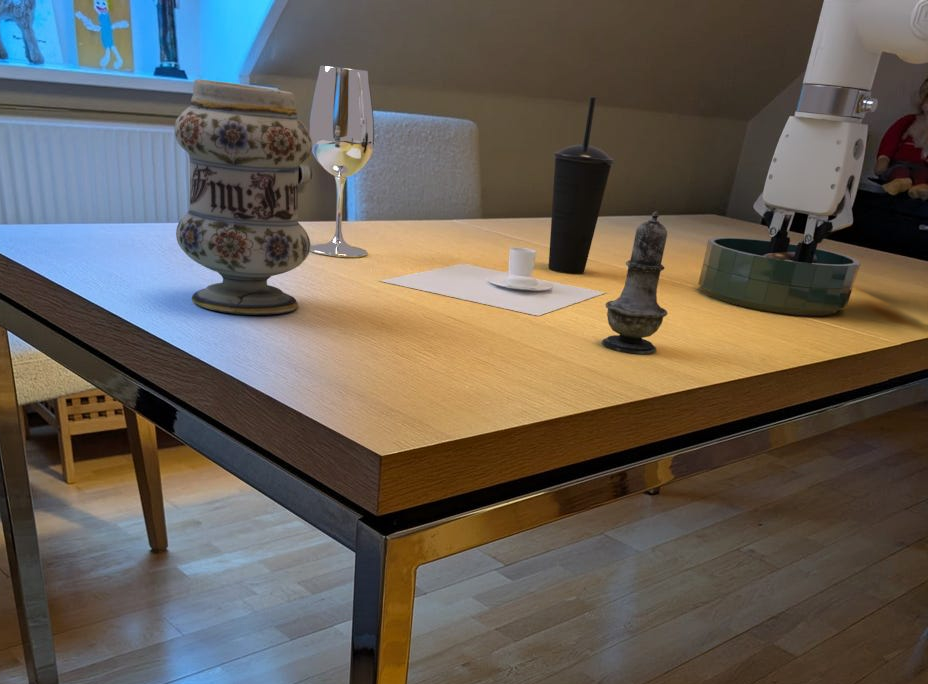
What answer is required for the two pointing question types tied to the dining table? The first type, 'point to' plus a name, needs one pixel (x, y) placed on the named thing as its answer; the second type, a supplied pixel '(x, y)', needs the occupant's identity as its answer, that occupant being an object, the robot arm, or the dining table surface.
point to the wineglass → (341, 138)
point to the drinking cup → (576, 201)
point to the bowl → (776, 278)
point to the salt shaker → (639, 293)
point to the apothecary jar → (243, 193)
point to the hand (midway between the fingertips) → (785, 272)
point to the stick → (786, 256)
